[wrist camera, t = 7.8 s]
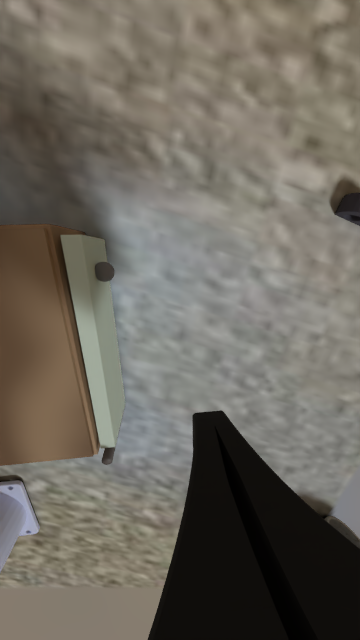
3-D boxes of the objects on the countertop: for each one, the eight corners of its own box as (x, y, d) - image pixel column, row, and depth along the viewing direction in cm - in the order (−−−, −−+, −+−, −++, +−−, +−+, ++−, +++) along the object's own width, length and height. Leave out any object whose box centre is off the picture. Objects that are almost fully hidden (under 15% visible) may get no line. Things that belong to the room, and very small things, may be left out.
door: (136, 401, 19) (129, 445, 15) (114, 403, 19) (100, 448, 15) (118, 238, 15) (101, 234, 10) (89, 239, 15) (60, 234, 10)
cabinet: (12, 416, 19) (-45, 480, 14) (-52, 235, 14) (-178, 226, 9) (125, 407, 20) (112, 464, 15) (101, 232, 15) (69, 222, 10)
